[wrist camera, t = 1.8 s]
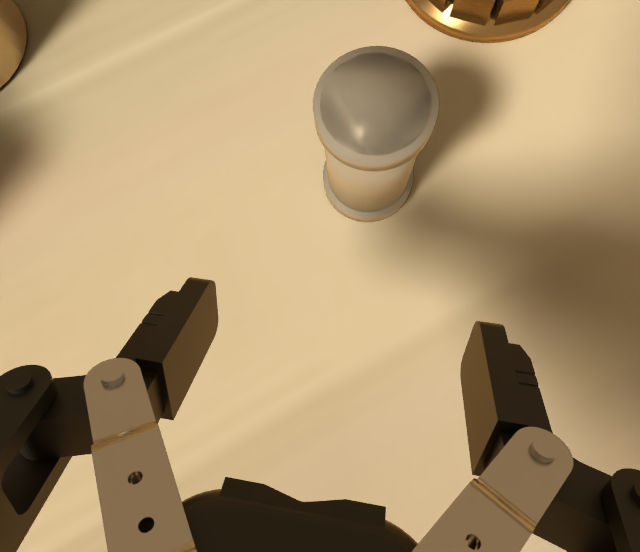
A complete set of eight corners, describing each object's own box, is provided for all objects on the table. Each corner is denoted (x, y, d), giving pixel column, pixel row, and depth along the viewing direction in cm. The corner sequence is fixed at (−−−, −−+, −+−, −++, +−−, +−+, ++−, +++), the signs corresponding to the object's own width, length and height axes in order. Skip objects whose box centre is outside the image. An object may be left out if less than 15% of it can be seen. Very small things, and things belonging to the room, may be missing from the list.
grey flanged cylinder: (306, 177, 29) (287, 100, 20) (370, 122, 29) (379, 23, 21) (364, 239, 28) (370, 187, 19) (429, 182, 28) (465, 105, 20)
